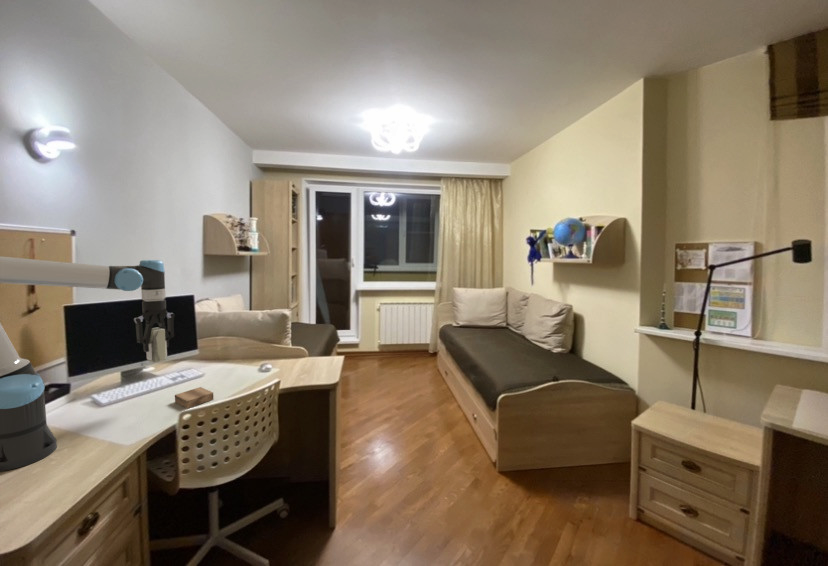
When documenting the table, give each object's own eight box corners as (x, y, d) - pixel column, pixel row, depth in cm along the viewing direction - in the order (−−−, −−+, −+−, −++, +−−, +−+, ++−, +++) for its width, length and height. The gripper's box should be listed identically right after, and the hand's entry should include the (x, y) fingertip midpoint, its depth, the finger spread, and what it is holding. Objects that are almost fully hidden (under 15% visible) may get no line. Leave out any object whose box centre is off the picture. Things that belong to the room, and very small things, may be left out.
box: (147, 360, 139) (145, 329, 137) (159, 357, 143) (157, 326, 141) (154, 363, 136) (152, 330, 135) (167, 360, 140) (165, 328, 139)
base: (187, 408, 137) (187, 401, 137) (175, 402, 142) (174, 394, 142) (213, 399, 146) (213, 392, 145) (200, 393, 151) (200, 386, 150)
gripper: (131, 303, 127) (134, 365, 130) (183, 298, 142) (185, 353, 145) (122, 301, 131) (126, 361, 134) (173, 296, 146) (176, 350, 149)
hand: (157, 357), depth 139 cm, fingers closed on box, 4 cm apart
